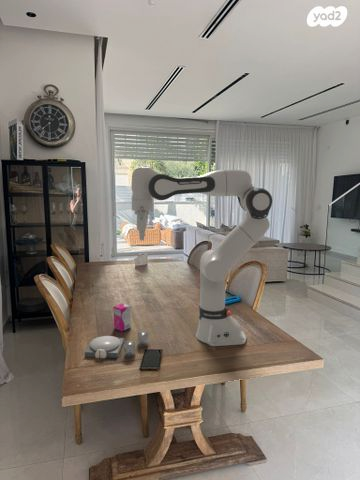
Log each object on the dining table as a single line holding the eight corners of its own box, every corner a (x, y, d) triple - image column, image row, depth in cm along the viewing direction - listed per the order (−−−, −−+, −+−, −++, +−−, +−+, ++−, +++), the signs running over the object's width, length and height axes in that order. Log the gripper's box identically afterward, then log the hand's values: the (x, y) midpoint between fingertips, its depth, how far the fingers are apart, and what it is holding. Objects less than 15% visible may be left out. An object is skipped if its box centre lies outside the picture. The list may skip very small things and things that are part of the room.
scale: (124, 344, 142) (123, 334, 141) (117, 361, 128) (116, 350, 128) (94, 343, 142) (94, 334, 141) (84, 360, 129) (83, 349, 128)
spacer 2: (148, 342, 142) (148, 331, 141) (147, 347, 138) (147, 336, 137) (138, 342, 142) (138, 331, 141) (137, 346, 138) (136, 335, 137)
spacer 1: (136, 352, 133) (136, 340, 132) (134, 357, 129) (134, 346, 128) (125, 352, 133) (125, 340, 133) (123, 357, 129) (123, 345, 128)
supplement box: (122, 325, 159) (122, 302, 157) (131, 328, 155) (130, 305, 154) (113, 329, 155) (113, 306, 153) (121, 332, 151) (121, 309, 149)
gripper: (149, 207, 128) (149, 242, 130) (150, 205, 148) (150, 235, 150) (133, 207, 127) (133, 242, 130) (136, 204, 148) (136, 235, 150)
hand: (142, 238), depth 140 cm, fingers open, 8 cm apart
